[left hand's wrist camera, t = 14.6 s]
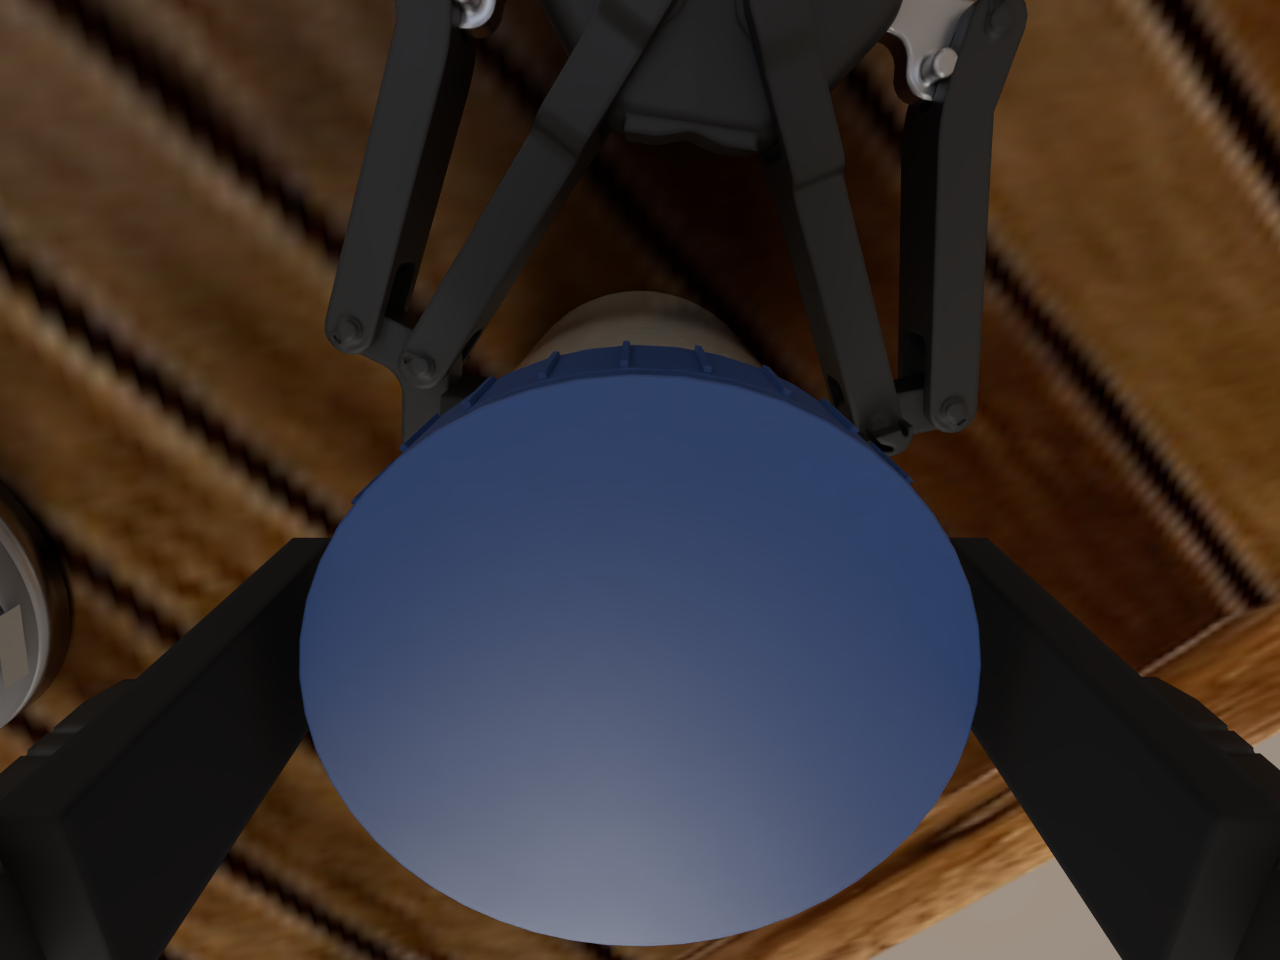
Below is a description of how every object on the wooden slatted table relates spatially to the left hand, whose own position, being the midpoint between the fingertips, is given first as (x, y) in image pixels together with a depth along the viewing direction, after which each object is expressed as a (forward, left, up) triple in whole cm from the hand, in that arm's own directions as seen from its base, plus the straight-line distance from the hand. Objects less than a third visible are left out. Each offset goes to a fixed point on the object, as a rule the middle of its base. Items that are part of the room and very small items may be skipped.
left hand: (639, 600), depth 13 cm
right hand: (+3, -4, -7) cm, 8 cm away
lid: (0, 0, +3) cm, 3 cm away
